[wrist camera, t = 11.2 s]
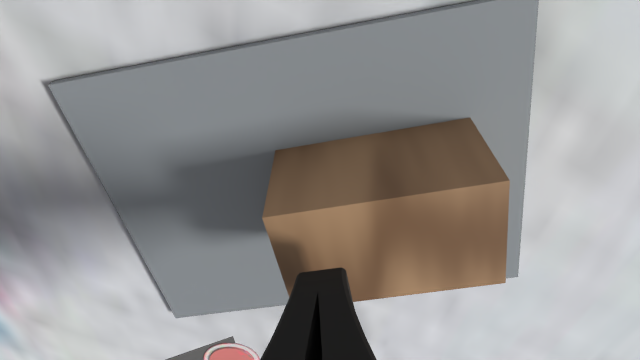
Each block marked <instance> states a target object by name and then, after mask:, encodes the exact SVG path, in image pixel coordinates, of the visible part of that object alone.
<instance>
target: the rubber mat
mask: <svg viewBox="0 0 640 360" xmlns="http://www.w3.org/2000/svg"><path fill="white" fill-rule="evenodd" d="M538 3H539V0H477V1H471V2H466V3H461V4H456V5H450V6H445V7H440V8H435V9H429V10H424V11H419V12H414V13H408V14H403V15H398V16H393V17H387V18H382V19H377V20H372V21H366V22H361V23H356V24H351V25H345V26H340V27H335V28H330V29H324V30H319V31H314V32H309V33H303V34H298V35H293V36H287V37H282V38H277V39H272V40H266V41H261V42H256V43H251V44H245V45H240V46H235V47H230V48H224V49H219V50H214V51H209V52H203V53H198V54H193V55H188V56H182V57H177V58H172V59H167V60H161V61H156V62H151V63H146V64H140V65H135V66H130V67H125V68H119V69H114V70H109V71H103V72H98V73H93V74H88V75H82V76H77V77H72V78H67V79H61V80H56V81H53V82H52V83H50V84H49V85H48V86H49V88H50V90H51V92H52V94H53V96H54V97H55V99H56V101H57V103H58V105H59V106H60V108H61V110H62V112H63V114H64V116H65V117H66V119H67V121H68V123H69V125H70V126H71V128H72V130H73V132H74V134H75V136H76V137H77V139H78V141H79V143H80V145H81V146H82V148H83V150H84V152H85V154H86V156H87V157H88V159H89V161H90V163H91V165H92V166H93V168H94V170H95V172H96V174H97V176H98V177H99V179H100V181H101V183H102V185H103V186H104V188H105V190H106V192H107V194H108V196H109V197H110V199H111V201H112V203H113V205H114V206H115V208H116V210H117V212H118V214H119V216H120V217H121V219H122V221H123V223H124V225H125V227H126V228H127V230H128V232H129V234H130V236H131V237H132V239H133V241H134V243H135V245H136V247H137V248H138V250H139V252H140V254H141V256H142V257H143V259H144V261H145V263H146V265H147V267H148V268H149V270H150V272H151V274H152V276H153V277H154V279H155V281H156V283H157V285H158V287H159V288H160V290H161V292H162V294H163V296H164V297H165V299H166V301H167V303H168V305H169V307H170V308H171V310H172V312H173V314H174V316H175V317H176V318H181V317H189V316H198V315H206V314H214V313H222V312H231V311H239V310H247V309H256V308H264V307H272V306H280V305H287V302H288V300H289V295H288V292H287V290H286V287H285V284H284V281H283V278H282V275H281V272H280V269H279V266H278V263H277V260H276V257H275V254H274V251H273V248H272V245H271V242H270V239H269V237H268V234H267V231H266V228H265V225H264V222H263V219H262V216H263V211H264V206H265V201H266V196H267V191H268V185H269V180H270V175H271V170H272V165H273V160H274V155H275V150H280V149H286V148H292V147H298V146H304V145H310V144H316V143H322V142H327V141H333V140H339V139H345V138H351V137H357V136H363V135H369V134H375V133H381V132H387V131H393V130H399V129H405V128H411V127H417V126H423V125H428V124H434V123H440V122H446V121H452V120H458V119H464V118H471V120H472V121H473V123H474V124H475V126H476V127H477V129H478V131H479V132H480V134H481V135H482V137H483V139H484V140H485V142H486V143H487V145H488V147H489V148H490V150H491V151H492V153H493V155H494V156H495V158H496V159H497V161H498V162H499V164H500V166H501V167H502V169H503V170H504V172H505V174H506V175H507V177H508V178H509V180H510V189H509V212H508V235H507V258H506V278H513V277H518V269H519V255H520V242H521V229H522V215H523V202H524V189H525V176H526V162H527V149H528V136H529V122H530V109H531V96H532V82H533V69H534V56H535V43H536V29H537V16H538Z"/></svg>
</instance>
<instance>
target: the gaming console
mask: <svg viewBox="0 0 640 360" xmlns="http://www.w3.org/2000/svg"><path fill="white" fill-rule="evenodd" d="M166 360H260V359H259V356H258V355H257V353H256V352H254V351H253V350H252V349H250V348H249V347H247V346H244V345H241V344H237V343H235V341H234V338H233V336H232V337H229V338H226V339H224V340H221V341H218V342H215V343H212V344H209V345H206V346H204V347H201V348H198V349H195V350H192V351H189V352H186V353H184V354H181V355H178V356H175V357H172V358H169V359H166Z"/></svg>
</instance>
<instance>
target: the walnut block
mask: <svg viewBox="0 0 640 360" xmlns="http://www.w3.org/2000/svg"><path fill="white" fill-rule="evenodd" d="M509 189H510V180H509V178H508V177H507V175H506V174H505V172H504V170H503V169H502V167H501V166H500V164H499V162H498V161H497V159H496V158H495V156H494V155H493V153H492V151H491V150H490V148H489V147H488V145H487V143H486V142H485V140H484V139H483V137H482V135H481V134H480V132H479V131H478V129H477V127H476V126H475V124H474V123H473V121H472V120H471V118H464V119H458V120H452V121H446V122H440V123H434V124H428V125H423V126H417V127H411V128H405V129H399V130H393V131H387V132H381V133H375V134H369V135H363V136H357V137H351V138H345V139H339V140H333V141H327V142H322V143H316V144H310V145H304V146H298V147H292V148H286V149H280V150H275V155H274V160H273V165H272V170H271V175H270V180H269V185H268V191H267V196H266V201H265V206H264V211H263V216H262V219H263V222H264V225H265V228H266V231H267V234H268V237H269V239H270V242H271V245H272V248H273V251H274V254H275V257H276V260H277V263H278V266H279V269H280V272H281V275H282V278H283V281H284V284H285V287H286V290H287V292H288V295H289V297H290V294H291V292H292V289H293V286H294V283H295V280H296V277H297V275H298V274H299V273H301V272H309V271H317V270H325V269H332V268H340V267H342V268H344V269H345V270H346V272H347V277H348V282H349V286H350V291H351V295H352V300H353V302H356V301H364V300H372V299H380V298H388V297H396V296H404V295H412V294H420V293H428V292H436V291H444V290H452V289H460V288H468V287H476V286H484V285H492V284H500V283H505V281H506V258H507V235H508V212H509Z"/></svg>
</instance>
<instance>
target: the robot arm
mask: <svg viewBox="0 0 640 360" xmlns="http://www.w3.org/2000/svg"><path fill="white" fill-rule="evenodd" d="M260 360H376V358H375V356H374V354H373V352H372V349H371V347H370V345H369V343H368V341H367V339H366V337H365V334H364V332H363V330H362V327H361V325H360V322H359V320H358V317H357V315H356V312H355V309H354V305H353V300H352V295H351V291H350V286H349V282H348V277H347V272H346V270H345V269H344V268H342V267H340V268H332V269H325V270H317V271H309V272H301V273H299V274H298V275H297V277H296V280H295V283H294V286H293V289H292V292H291V294H290V297H289V300H288V302H287V305H286V307H285V309H284V312H283V314H282V316H281V319H280V321H279V323H278V325H277V327H276V330H275V332H274V334H273V336H272V338H271V340H270V342H269V344H268V346H267V348H266V350H265V352H264V354H263V356H262V358H261V359H260Z"/></svg>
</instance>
